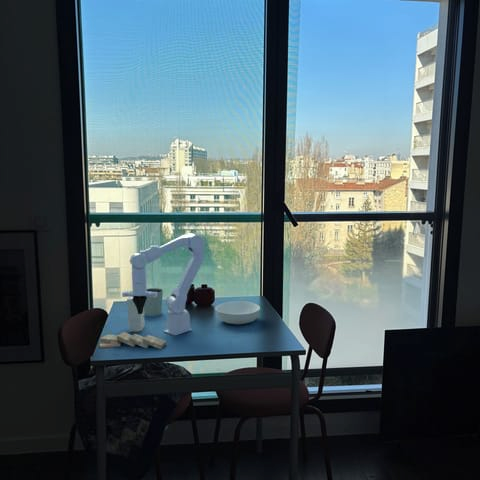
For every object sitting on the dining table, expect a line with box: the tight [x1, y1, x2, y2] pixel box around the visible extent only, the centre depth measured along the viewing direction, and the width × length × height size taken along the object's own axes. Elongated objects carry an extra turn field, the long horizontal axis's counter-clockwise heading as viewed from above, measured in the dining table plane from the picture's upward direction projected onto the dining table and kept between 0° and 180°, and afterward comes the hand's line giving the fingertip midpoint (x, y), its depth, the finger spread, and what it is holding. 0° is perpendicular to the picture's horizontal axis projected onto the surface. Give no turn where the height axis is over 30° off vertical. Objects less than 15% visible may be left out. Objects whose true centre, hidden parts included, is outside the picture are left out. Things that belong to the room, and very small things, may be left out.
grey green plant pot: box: [144, 287, 164, 317], centre depth 230 cm, size 10×10×12 cm
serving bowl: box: [215, 301, 261, 325], centre depth 216 cm, size 21×21×7 cm
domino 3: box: [129, 333, 151, 349], centre depth 187 cm, size 2×5×8 cm
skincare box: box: [126, 297, 146, 332], centre depth 207 cm, size 8×6×15 cm
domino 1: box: [99, 333, 122, 344], centre depth 191 cm, size 2×5×8 cm
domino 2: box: [117, 331, 138, 348], centre depth 189 cm, size 2×5×8 cm
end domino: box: [99, 342, 122, 349], centre depth 189 cm, size 2×5×8 cm
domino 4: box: [142, 334, 167, 350], centre depth 186 cm, size 2×5×8 cm
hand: (140, 313), depth 196 cm, fingers closed
